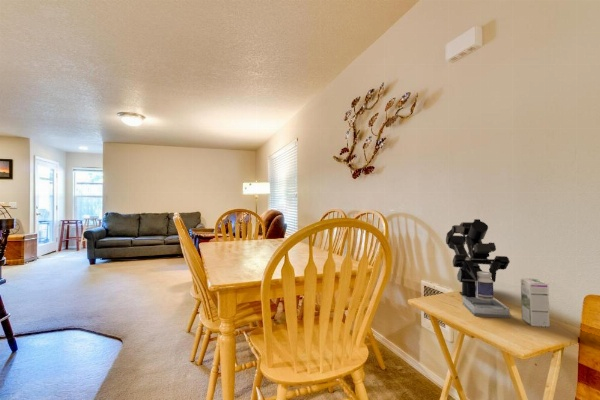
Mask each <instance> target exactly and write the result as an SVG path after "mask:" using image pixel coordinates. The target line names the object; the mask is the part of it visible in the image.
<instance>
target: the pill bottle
mask: <svg viewBox="0 0 600 400" xmlns="http://www.w3.org/2000/svg"><path fill="white" fill-rule="evenodd" d="M477 275H478V277H477V279H478V280H477V281H475V285H476V298H478V299H481V300H486V301H490V300H493V297H494V282H493V280H492V278H491V276H492V275H491V273H490V272H489V271H483V270H482V271H478V272H477Z"/></svg>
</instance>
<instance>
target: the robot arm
mask: <svg viewBox="0 0 600 400" xmlns="http://www.w3.org/2000/svg"><path fill="white" fill-rule="evenodd" d="M488 229H489V226H488V224H486V223H485V222H484V221H481V219H479V218H476V219H473V221H472V222H471V221H469V222H467V221H465V222H464V221H462V222H461V223H459V225H458V224H454V225H452V226H451V229H450V230H449V231H447V233H446V236H445V244H446V245H447V246H448V248H449V249H451V250H453V252H454V253H455V254H454V256H453V259H452V267H454V268H459V269H458V271H457V274H456V276H457V277H456V278H457V281H458V282H460V283H461V291H459V292H458V293H459V294H460V295H461V296H462V297H463V296H467V297H475V298H476V285H475V281H477V280H478V279H477V277H478V275H477V272H478V271H483V270H482V269H481V266H480V265H488V266H489V268H488V272H490V273H491V275H492V276H491V279H492V280H493V283H495V282H496V278H497V277H496V276H497V272H498V271H499V270H506V269H507V267H508V266H509V264H510V258H509V257H508V256H506V255H504V256H503V255H495V257H494V258H493V259H491V258H489V257H490V253H492V252H495V251H496V250H497V248H496V244H495V242H487V243H484V242H483V241H482V240H484V239H485V237H486V234H487V232H488ZM455 234H460V235H455ZM465 245H466V246H467V249H466V248H465ZM467 250H468V251H467Z"/></svg>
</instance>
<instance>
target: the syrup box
mask: <svg viewBox="0 0 600 400" xmlns="http://www.w3.org/2000/svg"><path fill="white" fill-rule="evenodd" d="M549 294H550V293H549V283H547V282H545V281H542V280H540V279H536V278H521V279H520V296H521V297H520V298H521V301H520V302H521V304H520V305H521V320H523V321H524V322H525V323H527V324H528V325H530V326H532V327H541V326H542V328H550V327H551V325H550V324H551V323H550V298H549V296H550V295H549ZM545 326H546V327H545Z"/></svg>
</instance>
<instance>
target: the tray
mask: <svg viewBox="0 0 600 400" xmlns="http://www.w3.org/2000/svg"><path fill="white" fill-rule="evenodd" d="M462 305H463V306H464V307H465V308H466V309H467V310H468V311H469V312H470V313H471V314H472V315H473V316H475V317H486V318H487V317H488V318H499V319H500V318H504V319H510V318H511V315H510V313H511V312H510V311H511V310H510V309H511V308H510V307H508V306H507V305H506V304H504V303H503V302H501V301H500V300H498V299H497V298H495V297H494V296H493V300H490V301H486V300H481V299H478V298H475V297H467V296H462Z"/></svg>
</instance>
